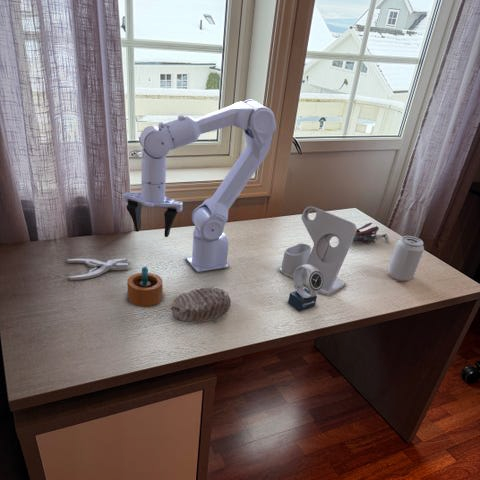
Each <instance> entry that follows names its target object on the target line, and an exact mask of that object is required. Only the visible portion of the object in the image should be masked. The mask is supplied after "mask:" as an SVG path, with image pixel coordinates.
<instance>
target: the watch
mask: <svg viewBox="0 0 480 480" xmlns="http://www.w3.org/2000/svg"><path fill="white" fill-rule="evenodd" d="M302 268H305V269H306V270H307V271H306V274H307V277H306V285H307V286H306V285H305V286H306V287H304V284H303V283H302V275H301V269H302ZM323 279H324V278H323V276H322V274H321V273H320V272H319V271H318V270H317V268H315V267H314V266H312V265H310V264H305V265H302V266H299V267H297V268H296V269H295V271H294V275H293V285H294V286H293V287H294V289H295V291H292V292H289V295H288V300H287V304H288V305H289V306H290V307H292V308H293V309H295V310H296V311H297V312H298V313H301V312H303V311H306V310H308V309H311V308H314V307H315V306H316V303H317V299H318V294H320V293H319V291H320V290H321V288H322V286H323Z"/></svg>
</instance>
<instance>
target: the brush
mask: <svg viewBox="0 0 480 480" xmlns="http://www.w3.org/2000/svg"><path fill="white" fill-rule="evenodd" d="M141 273H142V281H141V282H140V287H143V288H148V287H151V283H150V282H149V281H148V273H149V268H148V267H147V266H142V268H141Z"/></svg>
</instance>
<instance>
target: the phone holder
mask: <svg viewBox="0 0 480 480" xmlns="http://www.w3.org/2000/svg"><path fill="white" fill-rule="evenodd" d="M311 211H314V212H315V217H314V218H313V219H310V218H309V213H311ZM301 221H302V223H303V225H304V227H305V228H306V231H307V232H308V234H309V236H310V238H311V240H312V242H313V247H311V245H309V244H307V243H297V244H294V245H293V246H290V247H288V248H286V249H285V250H284V251H283V258H282V263H281V267H280V268H279V273H281V274H283V275H285V276H287V277H289V278H290V279H293V275H294V271H295V269H296V268H297V267H299V266H302V265H305V264H310V265H312V266H314V267H315V268H317V270H318V271H319V272H320V273H321V274H322V276H323V278H324V279H323V286H322V288H321V290H320V291H319V293H318V294H321V295H323V296H330V295H331V294H334V293H335V292H336V291H338V290H341V288H343V287H344V286H345V281H344V280H342V279H340V278H338V275H339V273H340V271H341V269H342V265H343V263H344V261H345V259H346V257H347V255H348V252H349V250H350V248H351V245H352V243H353V239H354V236H355V234H356V232H357V229H358V228H357V225H356V224H355V223H354V222H352V221H350V220H347V219H346V218H345V219H344V218H342V217H340V216H338V215H335V214H332V213H330V212H328V211H326V210H324V209H323V210H322V209H320V208H317V207H315V206H312V205H310V206H307V207H306V208H304V210H303V211H302V214H301ZM332 238H337V239H338V244H337V245H336V246H332V245H331V243H330V242H331V240H332ZM306 271H307V270H306V269H305V268H302V269H301V275H302V283H303V286H306V287H307V285H306V277H307V274H306Z"/></svg>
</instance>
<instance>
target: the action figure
mask: <svg viewBox="0 0 480 480" xmlns="http://www.w3.org/2000/svg"><path fill="white" fill-rule="evenodd" d="M372 224H373V222H368V223H366V224H364V225H362V226H361V227H358V228H357V232H356V234H355V236H354V239H353V241H352V243H357V242H363V243H365V244H368V243H369V244H370V243H371V244H376V243H377V241H376V240H378V239H381V238H384V240H385V241H386V243H388V242H389V241H390V240H389V236H388V233H383V234H378V232H379V230H380V227H379V226H378V225H376V226H373V227H370V226H371V225H372ZM369 227H370V228H369ZM366 228H368V229H366ZM363 229H366V230H363ZM360 230H362V231H360Z"/></svg>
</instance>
